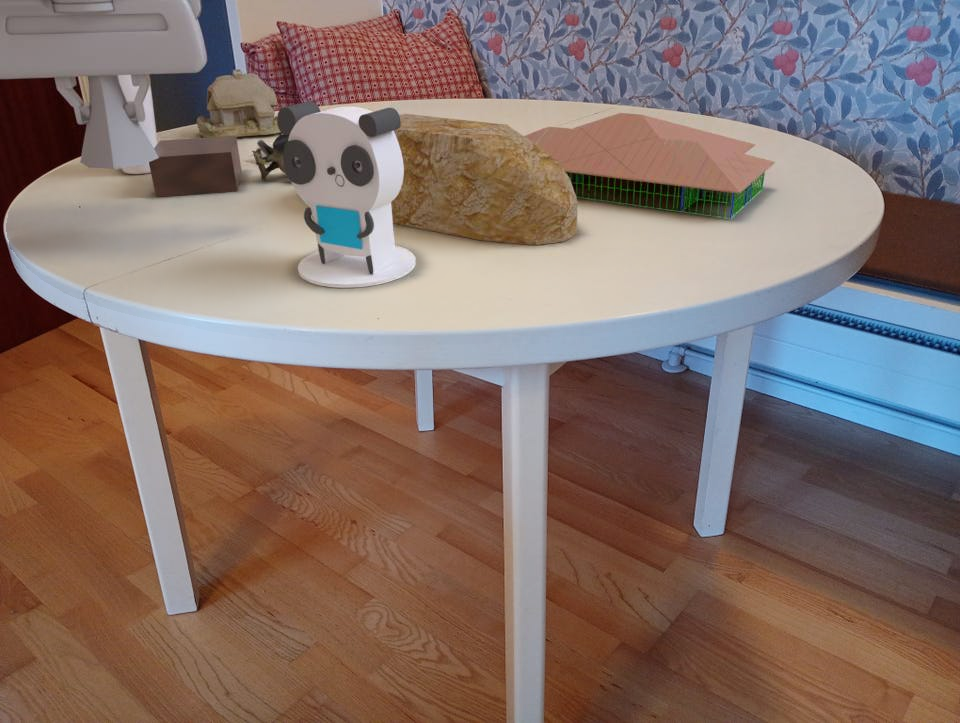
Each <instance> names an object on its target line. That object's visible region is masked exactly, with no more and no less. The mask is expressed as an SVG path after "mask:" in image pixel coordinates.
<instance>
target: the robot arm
mask: <svg viewBox="0 0 960 723" xmlns="http://www.w3.org/2000/svg"><path fill="white" fill-rule="evenodd" d="M202 7H203V6H202V0H0V80H15V79H16V80H18V79H48V78H54V82H55V86H56V90H57V91H58V92H59V94H60V95H61V96H62V97H63V98H64V99H65V100H66V102H68V104H69V105H70V106H71V107H73V110H74V115H75V119H76V123H77V124H78V125H87V124H89V122H90V117H91V116H90V113H91V109H90V105H89V102H84V101H83V99H82V98H81V97H80V95H79V94H78V93H77V92H76V90H75V89H74V87H76V86H77V84H78V83H77V79H76V77H88V76H110V75H131V80H132V85H133V86H139V89H138V91H137V94H136V97H135V99H134V101H133V102H127V103H126V104H125V110H126V112H127V113H128V115H127V116H128V118H129V119H130V120H131V121H132V122H144V120H145V112H144V107H143V101H144V99H145V96H146V94H147V91H148V89H149V86H150V85H151V83H152V82H151V77H150V75H163V74H164V75H167V74H195V73H199V72H201V71H202V70H203V68H204V67H205V66H206V65H207V62H208V55H207V54H208V53H207V49H206V43H205V40H204V36H203V32H202V28H201V25H200V22H199V18H200V16H201V14H202V10H203V8H202Z"/></svg>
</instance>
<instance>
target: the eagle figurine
mask: <svg viewBox="0 0 960 723" xmlns="http://www.w3.org/2000/svg"><path fill="white" fill-rule="evenodd" d="M276 137H277V138H276ZM276 137H275V138H276V140H275V139H274V141H273V142H272V143H273V148H272V147H270V146H269V145H267V144H266V143H267V142H266V143H265V141H264V140H263V139H260V140H258V141H257V143H256V144H257V145H258V146H259V147H260V148H259V149H257V148H256V149H255V150H252V154H254V156H253V157H254V160H255V164H256V166H257V167H258V170H259V172H260V175H261V176H260V180H261V181H262V182H263V181H265V180H266V179H267V177H268V176H269V174H270V173H272V171H275V170H276V169H279V170H280V171H281V172H282V173H283V174H284V175H285V176H286V174H285V170H284V164H283V153H284V147H285V144H286V142H288V139H289V135H284V134H279V135H278V136H276ZM260 149H261V150H260ZM261 151H263V152H264V153H265V154H266V155H267V157H263V158H262V155H261ZM270 162H271V163H270ZM267 163H269V165H268V166H267V167H266V166H265V164H267ZM289 182H290V184H292V182H291V181H290V180H289Z"/></svg>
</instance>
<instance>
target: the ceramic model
mask: <svg viewBox="0 0 960 723" xmlns="http://www.w3.org/2000/svg"><path fill="white" fill-rule="evenodd" d="M206 94H207V95H206V104H207V105H206V110H207V111H209V118H206V117H204V115H203V116H202V115H200V116H198V117H197V118H196V126H197V129H198V131H199V134H200V136H201V137H202V138H207V137H222V136H236V138H238V137H249V136H250V137H251V136H265V135H273V134H279V133H281V131H280V130H279V128H278V125H277V115H275V114H276V113H275V107H276V106H277V105H278V100H277V96H276V92H275V91H274V89H273V88H272V87H271V86H269V85H268V84H267V83H265V82H264V81H263V80H262V79H261V77H259V75H258V74H256V73H254V72H252V73H251V72H249V73H243V71H242V70H241V69H239V68H238V69H233V70H232V74H225V75H220V76H216V77H215V80H214V81H213V82H212V83H211V84H210V85H208V88H207V90H206Z"/></svg>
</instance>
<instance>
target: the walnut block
mask: <svg viewBox="0 0 960 723" xmlns="http://www.w3.org/2000/svg"><path fill="white" fill-rule="evenodd" d="M237 139H238V137H236V136H222V137H192V138H177V139H176V138H175V139H163V140H161V139H160V140H159V141H157V142H158V144H157V145H156V147H155V148H154V150H155V151H156V153H157V155H158V157H159V158H158V159H155V160H153V161H150V162H149V166H150V171H151V172H150V175H151V179H152V184H153V190H154V194H155V197H156V198H164V197H176V196H177V197H178V196H179V197H180V196H191V195H192V196H193V195H204V194H217V193H218V194H219V193H229V192H230V193H231V192H238V190H239V186H240V181H241V177H242V173H243V170H242V169H243V168H242V164H241V158H240V150H239V144H238V140H237Z"/></svg>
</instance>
